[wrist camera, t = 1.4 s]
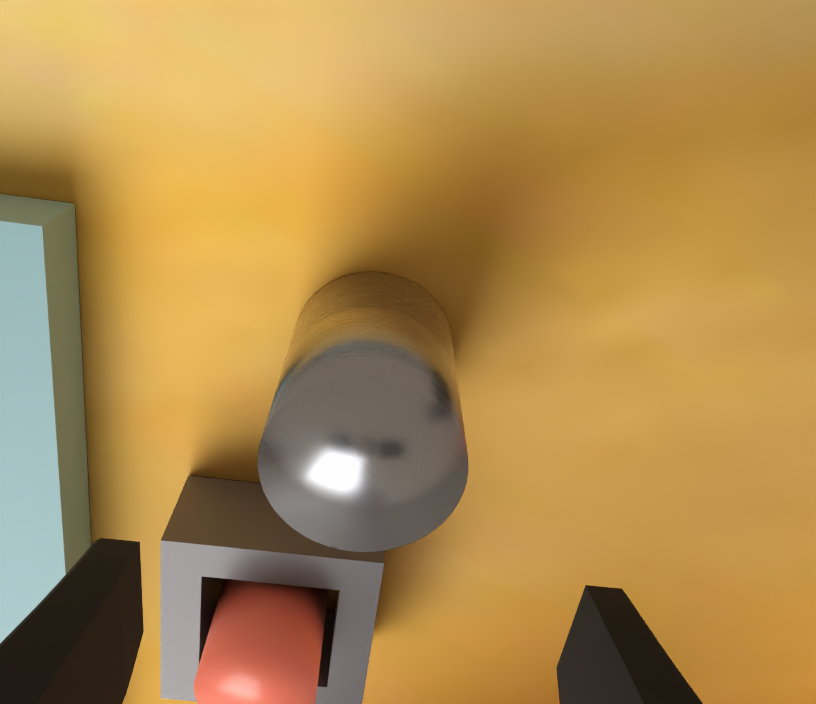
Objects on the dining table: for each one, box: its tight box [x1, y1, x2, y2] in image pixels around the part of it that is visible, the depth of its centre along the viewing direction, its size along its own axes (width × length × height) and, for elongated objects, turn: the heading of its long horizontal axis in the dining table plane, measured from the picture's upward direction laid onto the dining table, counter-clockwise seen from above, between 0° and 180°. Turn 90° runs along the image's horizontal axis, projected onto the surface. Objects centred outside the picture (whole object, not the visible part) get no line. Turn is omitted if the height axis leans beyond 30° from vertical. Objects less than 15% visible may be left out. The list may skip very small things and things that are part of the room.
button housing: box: [161, 476, 385, 704], centre depth 24 cm, size 6×6×3 cm
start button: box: [194, 579, 328, 704], centre depth 22 cm, size 3×3×4 cm
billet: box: [258, 272, 468, 552], centre depth 19 cm, size 4×4×6 cm
